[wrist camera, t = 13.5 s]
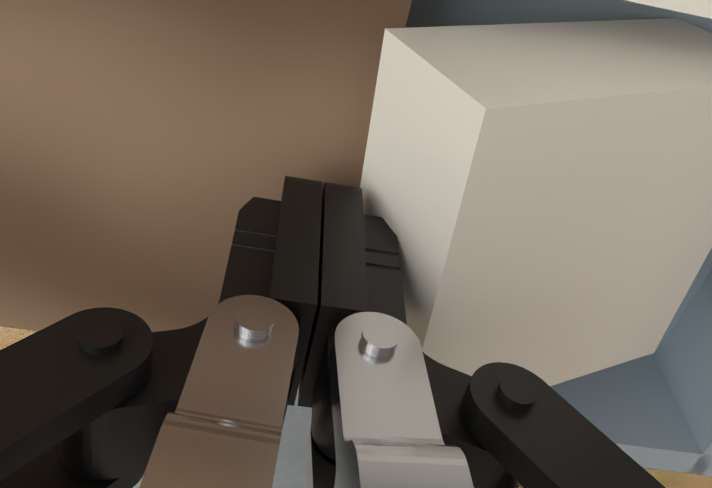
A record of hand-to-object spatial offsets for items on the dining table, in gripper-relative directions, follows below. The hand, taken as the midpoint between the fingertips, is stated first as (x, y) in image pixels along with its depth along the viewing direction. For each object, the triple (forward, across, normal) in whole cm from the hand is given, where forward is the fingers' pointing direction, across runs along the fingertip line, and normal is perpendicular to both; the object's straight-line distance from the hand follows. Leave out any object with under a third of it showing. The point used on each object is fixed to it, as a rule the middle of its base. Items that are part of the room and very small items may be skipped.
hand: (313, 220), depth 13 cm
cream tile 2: (+2, -4, -1) cm, 4 cm away
